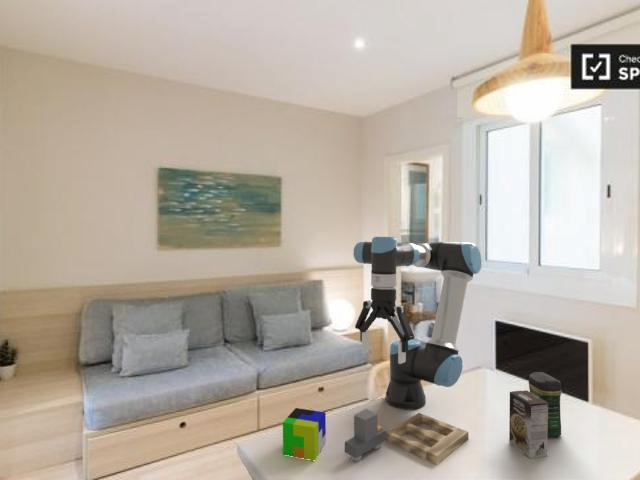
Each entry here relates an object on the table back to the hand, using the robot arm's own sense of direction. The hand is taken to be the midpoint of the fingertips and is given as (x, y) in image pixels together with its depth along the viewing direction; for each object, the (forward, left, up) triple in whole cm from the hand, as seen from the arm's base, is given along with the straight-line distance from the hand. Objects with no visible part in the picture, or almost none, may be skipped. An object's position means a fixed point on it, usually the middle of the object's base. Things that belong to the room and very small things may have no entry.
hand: (382, 357), depth 120 cm
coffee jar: (+31, +45, -28) cm, 62 cm away
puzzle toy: (-16, -18, -28) cm, 37 cm away
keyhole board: (+7, +13, -28) cm, 32 cm away
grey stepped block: (-2, -6, -28) cm, 28 cm away
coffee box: (+31, +30, -28) cm, 51 cm away
